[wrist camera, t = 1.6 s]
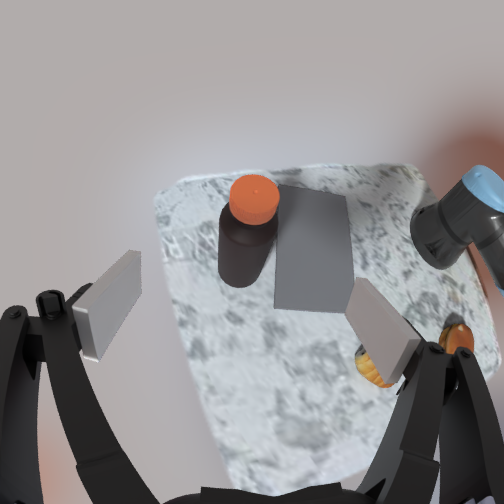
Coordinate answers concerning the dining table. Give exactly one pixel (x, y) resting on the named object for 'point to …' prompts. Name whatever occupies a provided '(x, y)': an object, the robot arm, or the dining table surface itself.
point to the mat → (313, 252)
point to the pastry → (369, 369)
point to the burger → (456, 338)
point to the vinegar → (247, 229)
